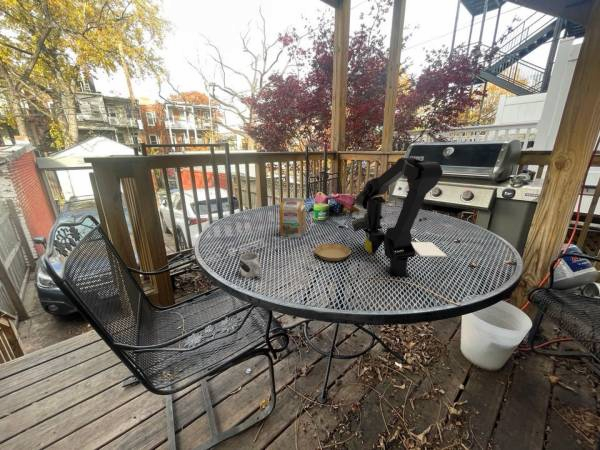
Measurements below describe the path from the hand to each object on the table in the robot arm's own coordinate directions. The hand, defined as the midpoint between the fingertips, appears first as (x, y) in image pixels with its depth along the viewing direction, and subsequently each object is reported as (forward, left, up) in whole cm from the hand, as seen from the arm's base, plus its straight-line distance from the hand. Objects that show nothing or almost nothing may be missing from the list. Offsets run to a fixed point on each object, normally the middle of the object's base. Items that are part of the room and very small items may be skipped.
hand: (371, 248), depth 104 cm
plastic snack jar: (+22, +34, -2) cm, 41 cm away
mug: (-19, +45, -2) cm, 49 cm away
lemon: (0, 0, -2) cm, 2 cm away
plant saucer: (-2, +16, -2) cm, 16 cm away
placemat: (+4, -24, -2) cm, 24 cm away
